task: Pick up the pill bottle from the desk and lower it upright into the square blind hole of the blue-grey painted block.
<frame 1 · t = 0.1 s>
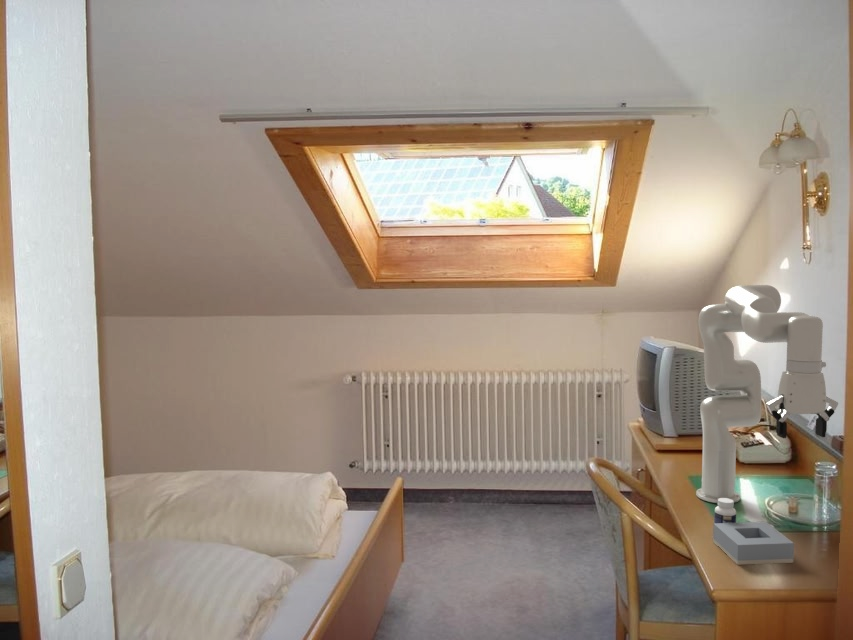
hand: (800, 436, 182), 31 cm above the table, tool pointing down, fingers open, 9 cm apart
socket block: (751, 551, 189), on the table
pill bottle: (724, 536, 200), on the table
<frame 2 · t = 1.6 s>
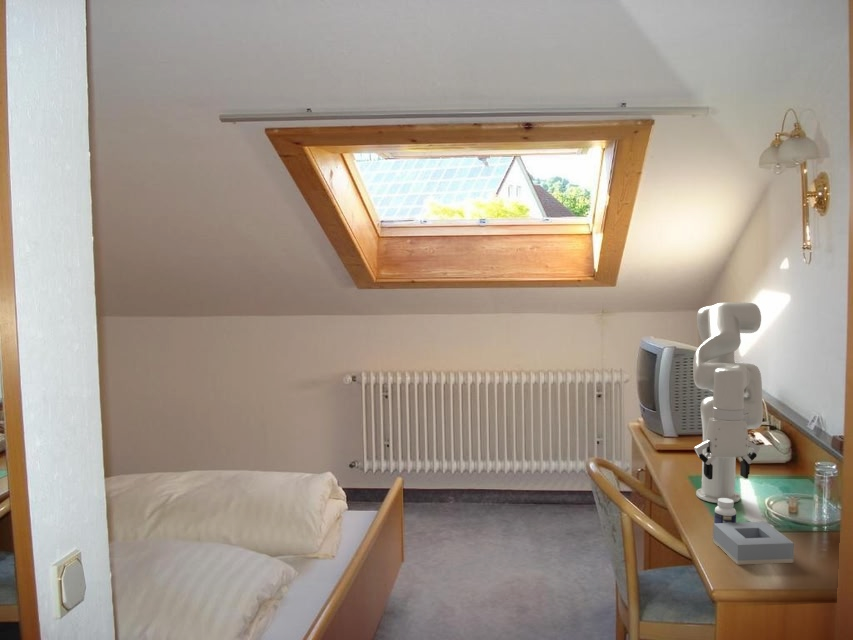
hand: (726, 477, 198), 16 cm above the table, tool pointing down, fingers open, 9 cm apart
nothing on the table moved.
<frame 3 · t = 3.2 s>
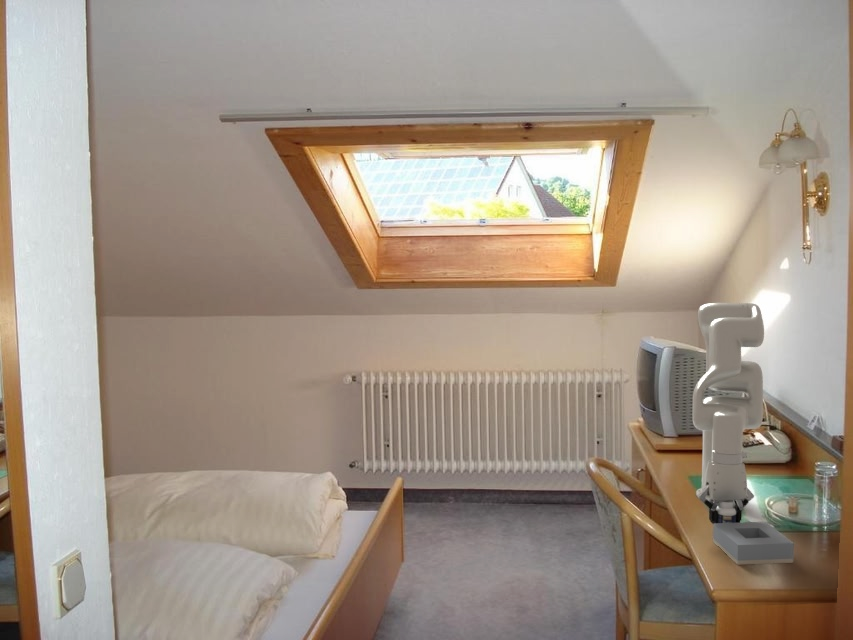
hand: (725, 522, 200), 4 cm above the table, tool pointing down, fingers closed on pill bottle, 5 cm apart
pill bottle: (724, 536, 200), on the table, touching gripper
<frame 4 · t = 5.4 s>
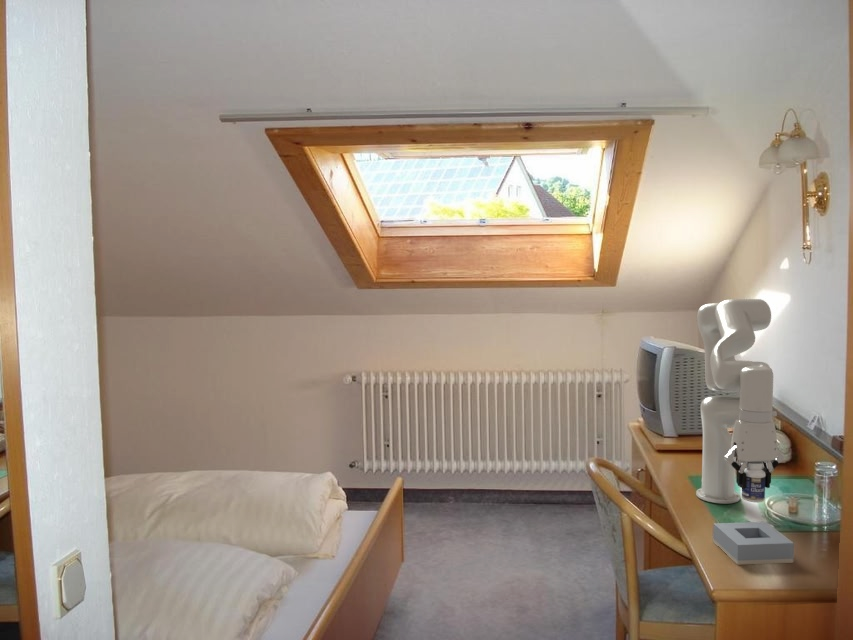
hand: (753, 485, 188), 17 cm above the table, tool pointing down, fingers closed on pill bottle, 5 cm apart
pill bottle: (753, 500, 188), point 14 cm above the table, touching gripper
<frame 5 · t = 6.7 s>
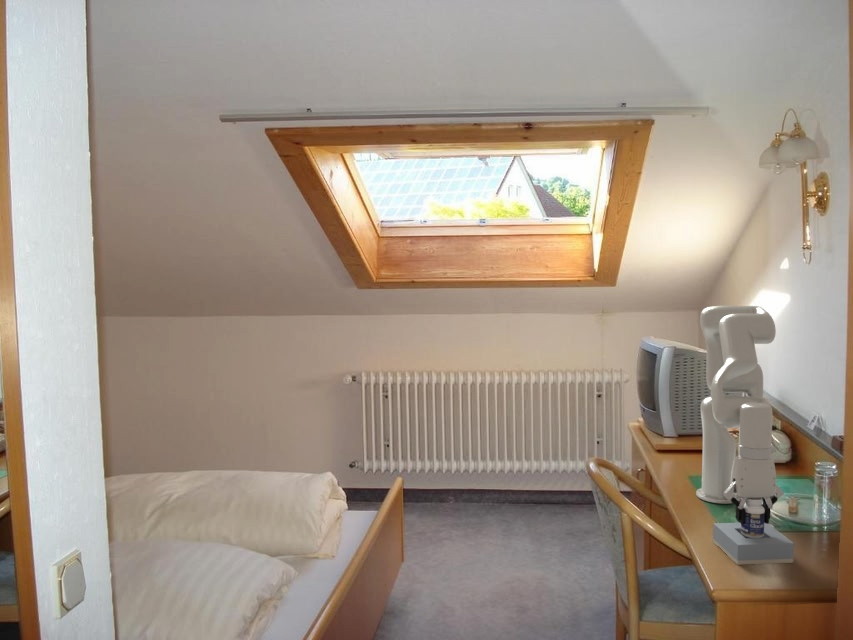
hand: (752, 521, 188), 8 cm above the table, tool pointing down, fingers closed on pill bottle, 5 cm apart
pill bottle: (752, 535, 189), point 4 cm above the table, touching gripper
when the fingers open (6 cm above the table, at t = 7.5 s): pill bottle drops 1 cm, resting on socket block.
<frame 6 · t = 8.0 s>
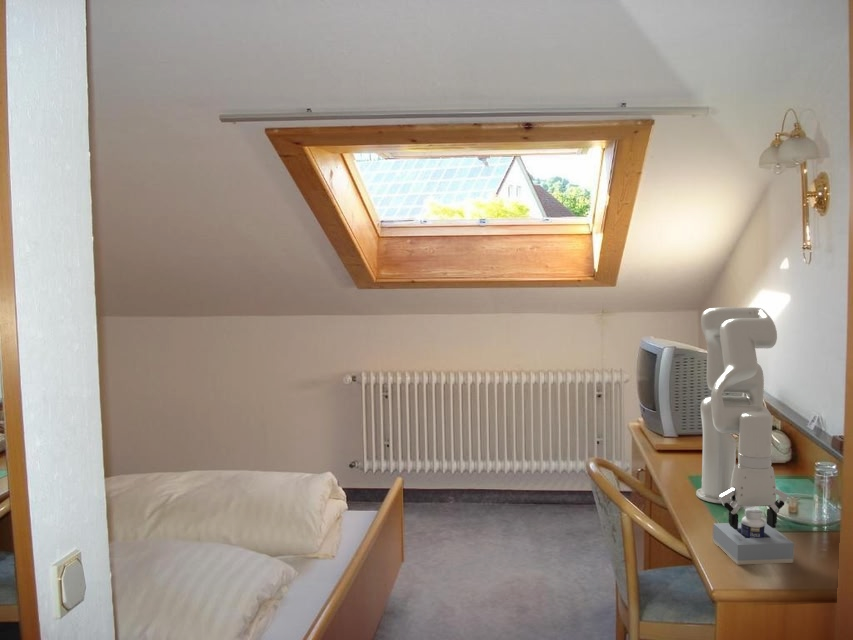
hand: (752, 526, 189), 7 cm above the table, tool pointing down, fingers open, 9 cm apart
pill bottle: (752, 548, 189), point 1 cm above the table, touching socket block
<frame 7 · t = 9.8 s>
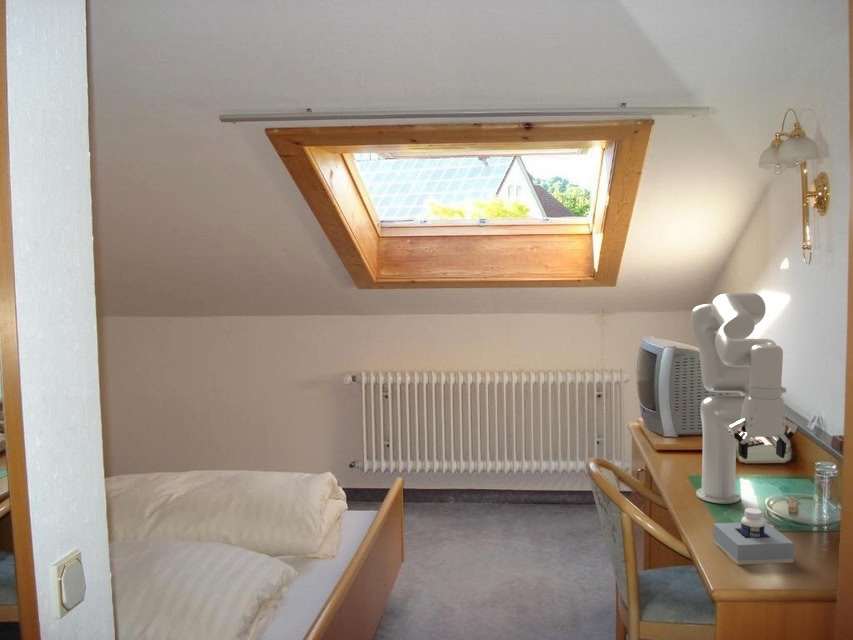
hand: (761, 456, 193), 23 cm above the table, tool pointing down, fingers open, 9 cm apart
nothing on the table moved.
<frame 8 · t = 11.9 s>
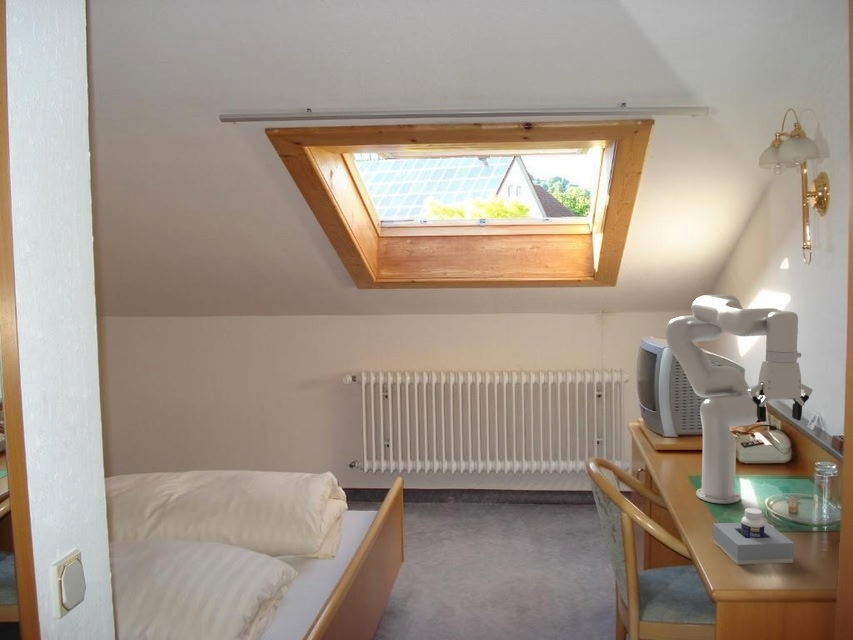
hand: (778, 419, 202), 30 cm above the table, tool pointing down, fingers open, 9 cm apart
nothing on the table moved.
at the end: pill bottle 0.3 cm off-centre on the socket block, point 0.8 cm above the socket block's base; pill bottle tilted 0°; the gripper is holding nothing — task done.
